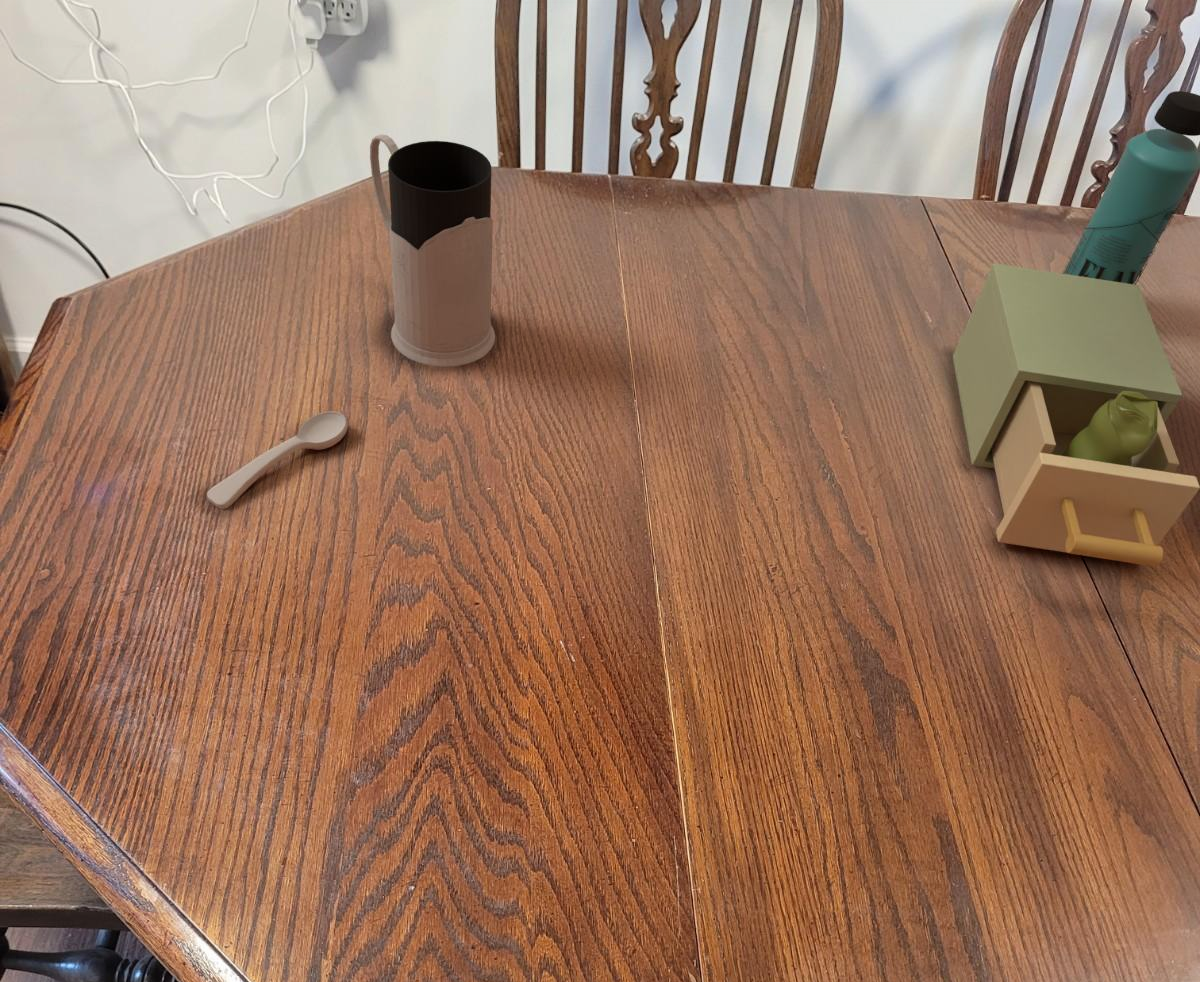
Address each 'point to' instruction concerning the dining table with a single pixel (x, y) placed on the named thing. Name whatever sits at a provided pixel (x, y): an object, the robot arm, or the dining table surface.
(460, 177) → the glass holder
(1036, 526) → the drawer
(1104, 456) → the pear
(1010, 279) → the cabinet
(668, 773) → the dining table surface
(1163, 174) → the beverage bottle
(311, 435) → the spoon
